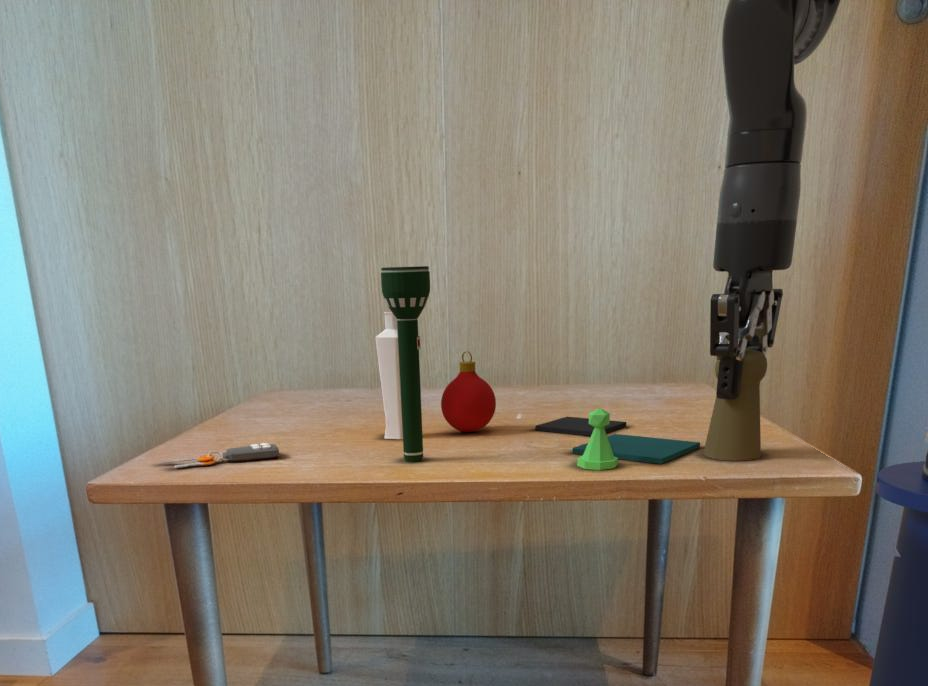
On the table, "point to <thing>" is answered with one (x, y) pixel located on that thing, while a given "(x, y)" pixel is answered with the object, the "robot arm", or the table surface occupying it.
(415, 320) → the flashlight
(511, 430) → the table surface
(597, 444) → the game piece
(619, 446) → the teal pad
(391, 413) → the perfume bottle
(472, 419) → the christmas ornament
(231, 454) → the key chain
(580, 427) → the charcoal pad
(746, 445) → the cork
